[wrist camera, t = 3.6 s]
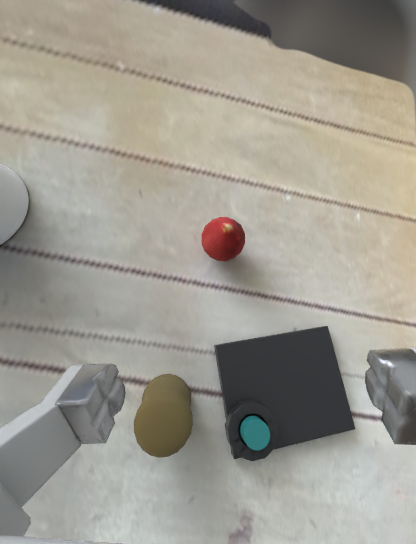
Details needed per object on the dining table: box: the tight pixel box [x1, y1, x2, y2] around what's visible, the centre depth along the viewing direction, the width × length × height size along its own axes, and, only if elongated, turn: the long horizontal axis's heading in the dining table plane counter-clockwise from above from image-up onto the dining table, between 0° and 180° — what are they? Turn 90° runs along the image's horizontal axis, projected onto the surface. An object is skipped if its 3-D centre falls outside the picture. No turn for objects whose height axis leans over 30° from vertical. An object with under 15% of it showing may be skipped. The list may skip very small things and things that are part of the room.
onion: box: [202, 217, 245, 261], centre depth 34 cm, size 6×6×8 cm
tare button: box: [240, 416, 270, 450], centre depth 29 cm, size 3×3×2 cm
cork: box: [134, 374, 193, 457], centre depth 27 cm, size 6×6×11 cm
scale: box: [214, 326, 355, 461], centre depth 33 cm, size 16×13×3 cm
